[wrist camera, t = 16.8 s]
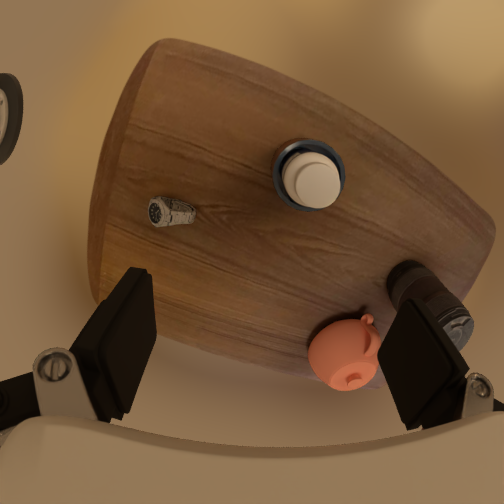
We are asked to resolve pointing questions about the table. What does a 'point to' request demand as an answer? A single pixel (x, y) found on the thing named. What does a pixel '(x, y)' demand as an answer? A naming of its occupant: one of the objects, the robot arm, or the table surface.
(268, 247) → the table surface
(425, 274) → the camera lens
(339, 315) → the table surface
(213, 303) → the table surface
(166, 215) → the wristwatch
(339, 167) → the cup
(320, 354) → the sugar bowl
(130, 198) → the table surface
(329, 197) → the pill bottle
